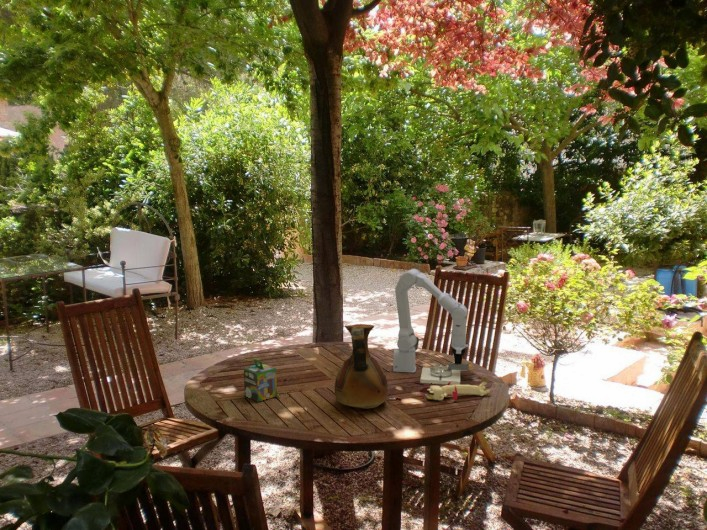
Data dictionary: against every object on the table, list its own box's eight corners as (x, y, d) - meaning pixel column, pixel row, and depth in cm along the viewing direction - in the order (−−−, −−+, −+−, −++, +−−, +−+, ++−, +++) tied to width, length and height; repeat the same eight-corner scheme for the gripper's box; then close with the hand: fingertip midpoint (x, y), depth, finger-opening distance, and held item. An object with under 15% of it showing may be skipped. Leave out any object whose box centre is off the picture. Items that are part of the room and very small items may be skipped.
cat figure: (480, 393, 239) (421, 393, 233) (482, 372, 238) (423, 371, 232) (492, 402, 229) (430, 403, 223) (494, 380, 228) (432, 380, 222)
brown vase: (385, 394, 233) (386, 318, 229) (390, 414, 213) (391, 332, 209) (334, 395, 232) (334, 319, 228) (334, 415, 212) (334, 332, 208)
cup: (419, 356, 283) (419, 339, 282) (403, 356, 283) (403, 339, 282) (418, 352, 291) (418, 335, 289) (402, 351, 291) (402, 335, 290)
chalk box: (277, 397, 230) (277, 359, 228) (257, 403, 224) (257, 364, 222) (263, 390, 237) (262, 354, 235) (243, 396, 230) (242, 359, 228)
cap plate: (420, 382, 247) (420, 379, 246) (422, 370, 262) (422, 367, 262) (460, 385, 244) (460, 381, 244) (460, 372, 260) (460, 369, 259)
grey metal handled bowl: (429, 376, 249) (429, 365, 249) (430, 369, 258) (430, 359, 257) (473, 378, 246) (473, 368, 246) (472, 372, 255) (473, 361, 254)
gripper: (469, 339, 245) (468, 371, 247) (468, 330, 259) (467, 361, 261) (451, 338, 246) (450, 370, 248) (451, 329, 260) (450, 360, 262)
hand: (458, 365), depth 254 cm, fingers closed
